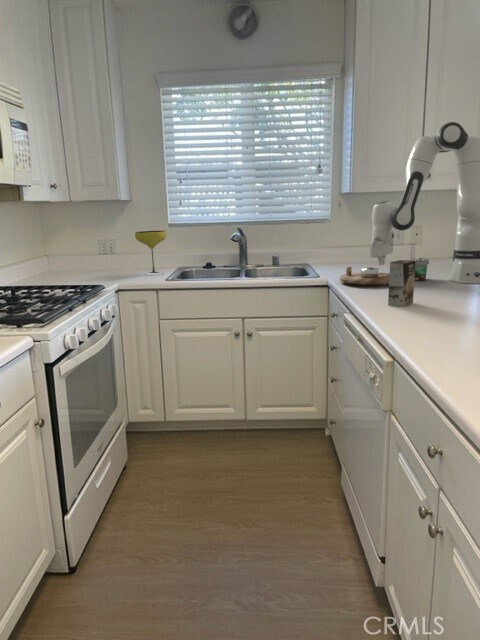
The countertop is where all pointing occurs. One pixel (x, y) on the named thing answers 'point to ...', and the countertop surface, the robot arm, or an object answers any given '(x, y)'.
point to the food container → (421, 269)
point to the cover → (369, 272)
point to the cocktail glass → (151, 240)
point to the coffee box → (401, 283)
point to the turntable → (357, 279)
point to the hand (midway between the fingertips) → (381, 264)
